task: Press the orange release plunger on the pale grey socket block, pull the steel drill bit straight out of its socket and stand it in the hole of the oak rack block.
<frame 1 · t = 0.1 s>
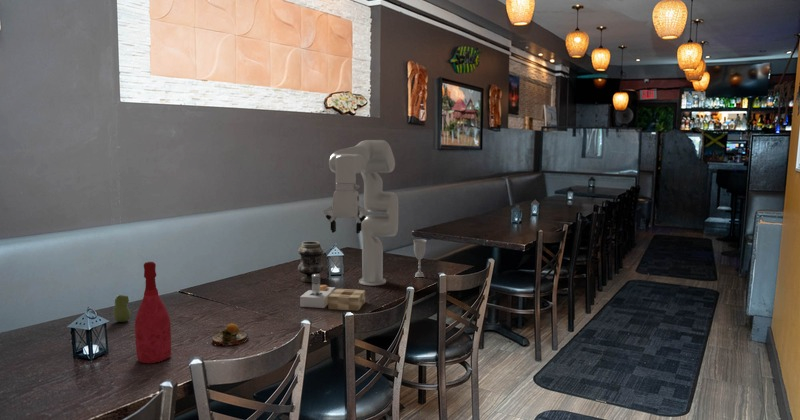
hand: (346, 232, 213), 31 cm above the table, tool pointing down, fingers open, 9 cm apart
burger: (229, 341, 186), on the table
wine bottle: (154, 359, 170), on the table
release plunger: (323, 289, 236), point 4 cm above the table, slide at 0.0 cm
chalice: (419, 277, 272), on the table
apothecary jar: (311, 279, 266), on the table
drill bit: (316, 289, 227), in the socket block
pear: (122, 322, 204), on the table
rack block: (347, 305, 225), on the table
socket block: (316, 303, 228), on the table
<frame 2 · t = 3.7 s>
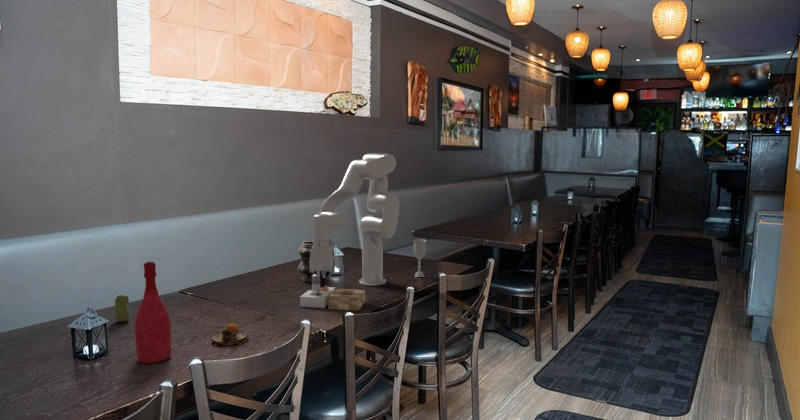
hand: (322, 286, 235), 5 cm above the table, tool pointing down, fingers closed
release plunger: (323, 289, 236), point 3 cm above the table, slide at 0.2 cm, touching gripper
everything else where it was.
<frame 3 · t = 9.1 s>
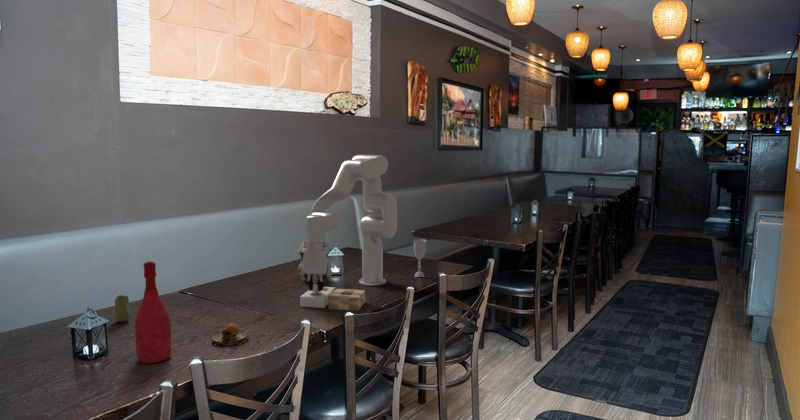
hand: (316, 289, 227), 6 cm above the table, tool pointing down, fingers closed on drill bit, 3 cm apart
release plunger: (323, 291, 236), point 2 cm above the table, slide at 1.1 cm
drill bit: (316, 289, 227), in the socket block, touching gripper
everything else where it was.
when the fingers open (8 cm above the table, at t = 16.2 s): drill bit drops 2 cm, resting in rack block.
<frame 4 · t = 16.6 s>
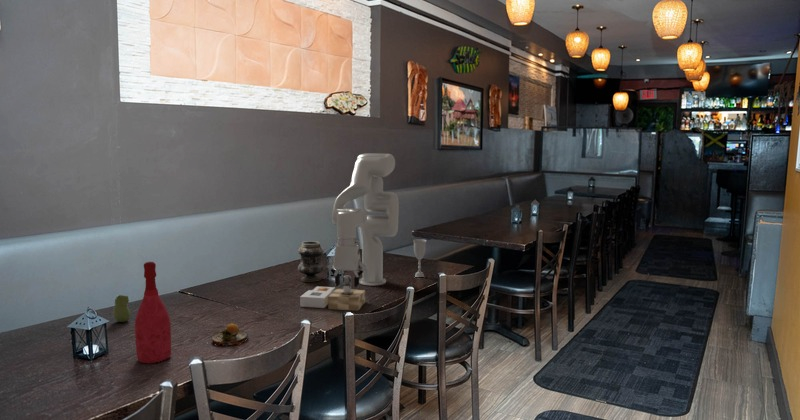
hand: (347, 285, 224), 8 cm above the table, tool pointing down, fingers open, 7 cm apart
drill bit: (347, 290, 225), in the rack block
everything else where it was.
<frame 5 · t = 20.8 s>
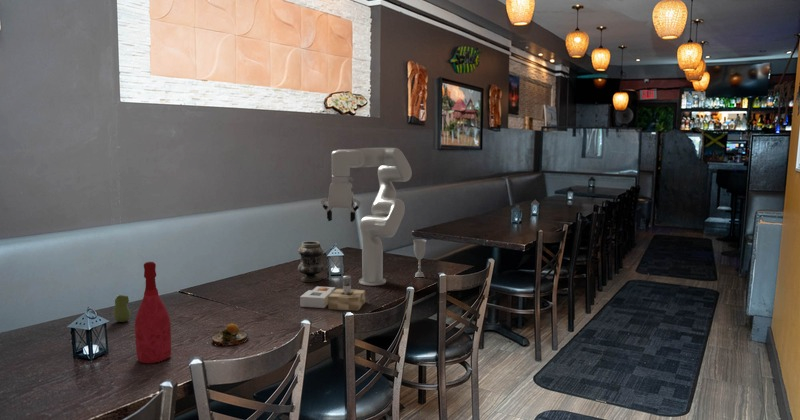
hand: (341, 221, 235), 32 cm above the table, tool pointing down, fingers open, 9 cm apart
nothing on the table moved.
at the end: drill bit 0.0 cm off-centre on the rack block, point 6.0 cm above the rack block's base; drill bit tilted 1°; release plunger slide at 1.1 cm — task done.
